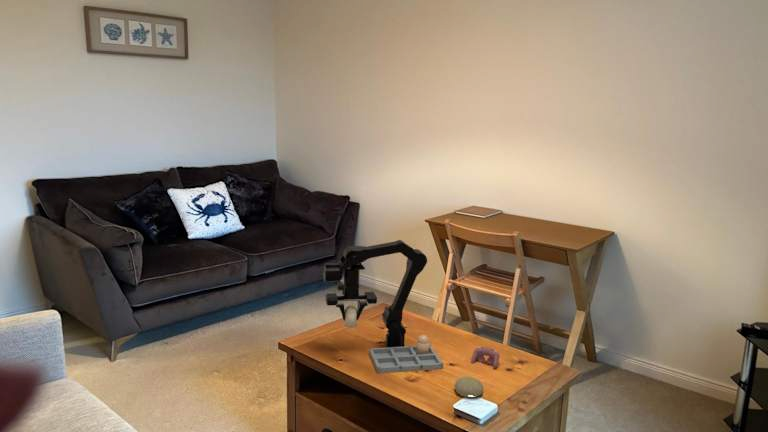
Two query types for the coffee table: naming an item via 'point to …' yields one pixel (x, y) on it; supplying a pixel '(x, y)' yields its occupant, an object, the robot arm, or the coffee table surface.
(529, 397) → the coffee table surface
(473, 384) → the sea urchin shell
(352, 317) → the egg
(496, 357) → the video game controller
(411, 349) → the grey compartment tray
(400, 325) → the robot arm
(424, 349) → the beige rounded cylinder
